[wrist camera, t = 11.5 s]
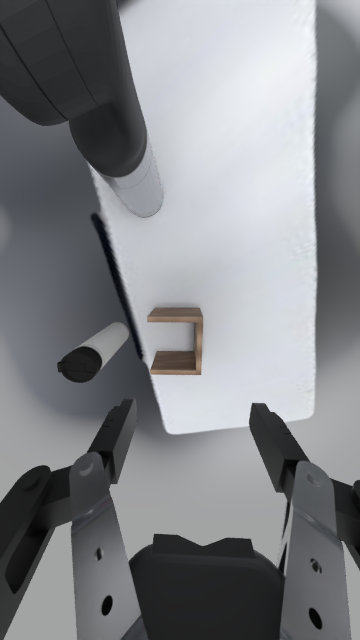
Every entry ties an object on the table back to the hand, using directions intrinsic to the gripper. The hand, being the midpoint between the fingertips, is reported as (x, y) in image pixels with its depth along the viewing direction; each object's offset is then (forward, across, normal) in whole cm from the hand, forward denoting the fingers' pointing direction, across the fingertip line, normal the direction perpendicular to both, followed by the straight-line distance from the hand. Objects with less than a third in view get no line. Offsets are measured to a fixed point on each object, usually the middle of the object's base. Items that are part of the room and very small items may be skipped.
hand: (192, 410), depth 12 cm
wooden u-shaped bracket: (+36, +3, +7) cm, 37 cm away
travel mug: (+36, +20, +8) cm, 42 cm away
